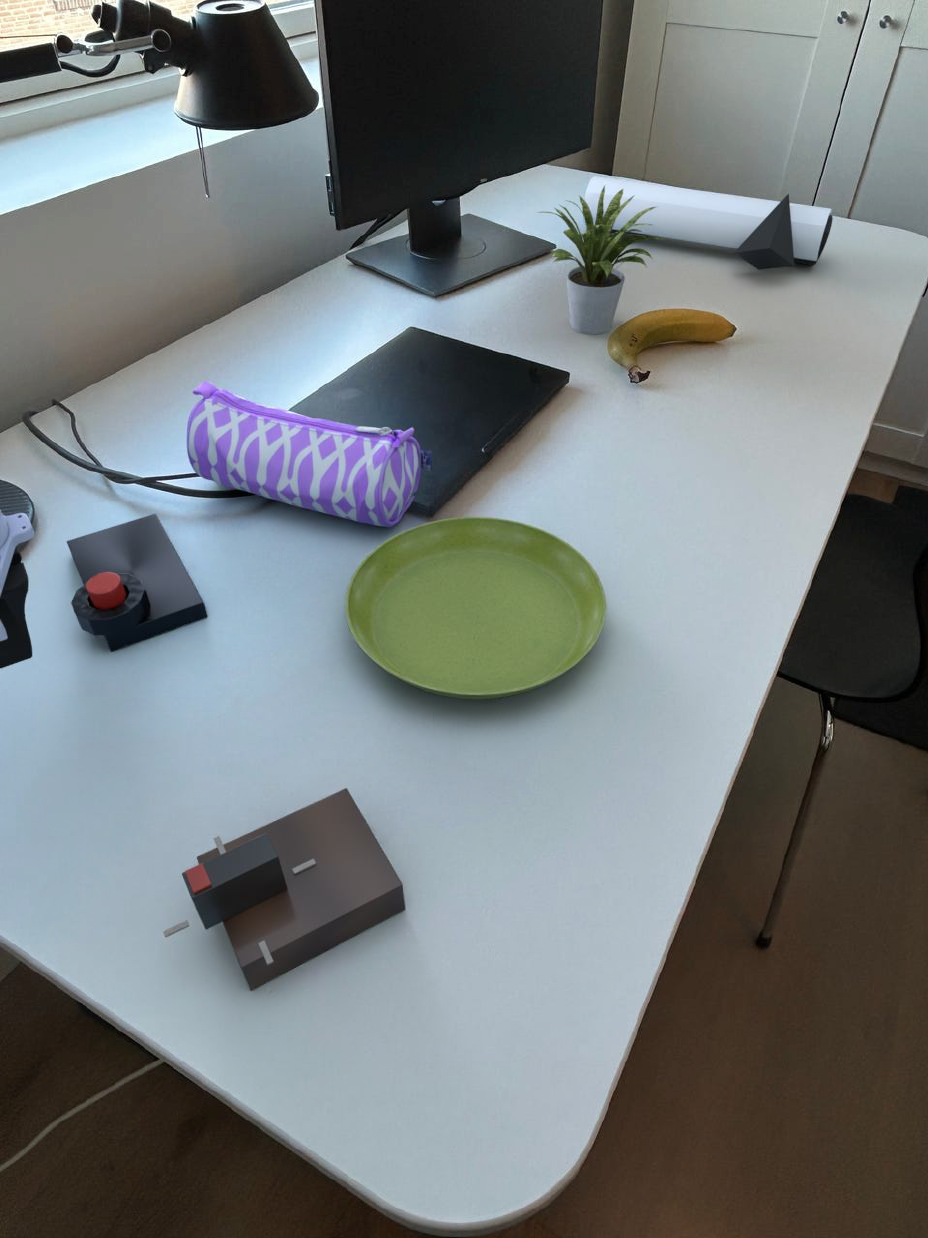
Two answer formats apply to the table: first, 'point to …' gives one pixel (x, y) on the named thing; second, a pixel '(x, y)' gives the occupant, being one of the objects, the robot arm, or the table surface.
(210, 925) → the stamp handle
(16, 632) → the robot arm
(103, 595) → the dock button
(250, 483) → the pencil case
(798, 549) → the table surface
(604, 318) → the house plant
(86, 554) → the button dock
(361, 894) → the stand
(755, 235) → the diploma
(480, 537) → the green plate
